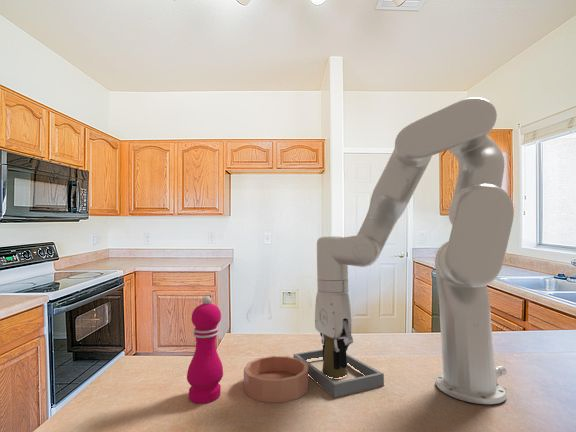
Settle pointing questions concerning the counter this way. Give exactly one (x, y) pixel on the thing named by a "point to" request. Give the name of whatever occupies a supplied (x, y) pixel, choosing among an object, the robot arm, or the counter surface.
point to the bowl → (276, 378)
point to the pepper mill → (205, 355)
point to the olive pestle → (331, 359)
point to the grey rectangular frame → (345, 387)
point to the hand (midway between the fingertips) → (334, 363)
